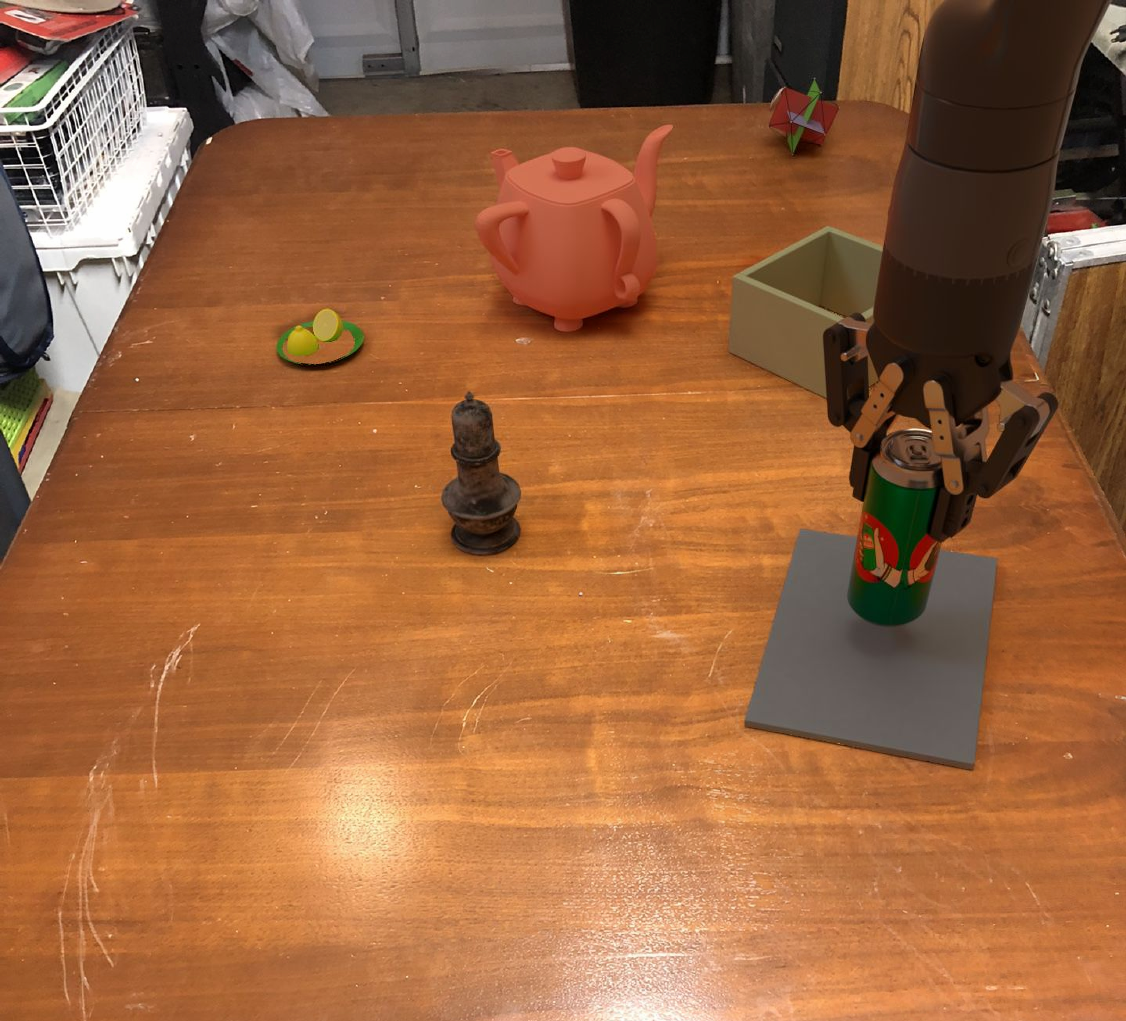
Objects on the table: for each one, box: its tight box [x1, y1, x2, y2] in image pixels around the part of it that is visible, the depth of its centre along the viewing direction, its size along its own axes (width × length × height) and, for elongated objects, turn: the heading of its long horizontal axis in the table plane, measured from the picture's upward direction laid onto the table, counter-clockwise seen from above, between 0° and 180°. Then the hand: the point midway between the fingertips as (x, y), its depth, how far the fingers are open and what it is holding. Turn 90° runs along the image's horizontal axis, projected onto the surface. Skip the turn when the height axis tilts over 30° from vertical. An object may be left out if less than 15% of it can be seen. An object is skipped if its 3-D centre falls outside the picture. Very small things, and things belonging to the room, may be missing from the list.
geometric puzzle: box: [767, 77, 841, 156], centre depth 130 cm, size 7×7×8 cm
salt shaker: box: [440, 390, 522, 556], centre depth 84 cm, size 6×6×12 cm
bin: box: [727, 225, 883, 399], centre depth 101 cm, size 13×13×7 cm
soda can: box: [847, 427, 945, 627], centre depth 72 cm, size 5×5×12 cm
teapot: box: [475, 124, 674, 333], centre depth 107 cm, size 16×17×14 cm
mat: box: [743, 528, 999, 771], centre depth 79 cm, size 20×14×1 cm
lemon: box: [276, 308, 365, 366], centre depth 107 cm, size 8×8×3 cm
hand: (904, 513), depth 71 cm, fingers closed on soda can, 5 cm apart
